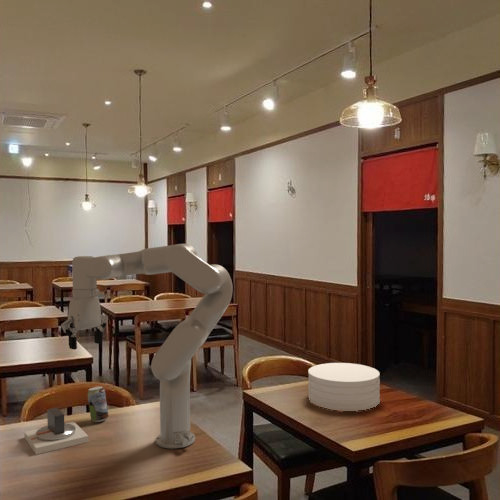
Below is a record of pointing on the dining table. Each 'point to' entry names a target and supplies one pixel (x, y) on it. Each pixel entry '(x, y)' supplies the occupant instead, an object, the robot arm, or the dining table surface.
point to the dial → (55, 427)
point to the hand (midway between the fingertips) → (85, 346)
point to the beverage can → (97, 404)
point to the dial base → (47, 446)
